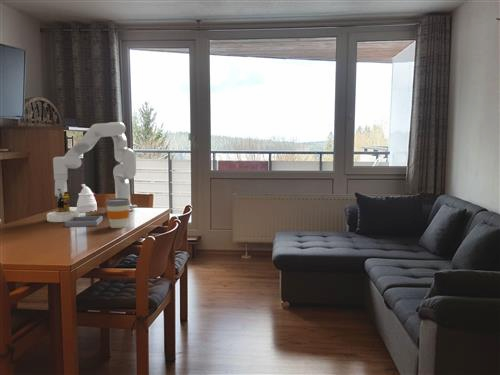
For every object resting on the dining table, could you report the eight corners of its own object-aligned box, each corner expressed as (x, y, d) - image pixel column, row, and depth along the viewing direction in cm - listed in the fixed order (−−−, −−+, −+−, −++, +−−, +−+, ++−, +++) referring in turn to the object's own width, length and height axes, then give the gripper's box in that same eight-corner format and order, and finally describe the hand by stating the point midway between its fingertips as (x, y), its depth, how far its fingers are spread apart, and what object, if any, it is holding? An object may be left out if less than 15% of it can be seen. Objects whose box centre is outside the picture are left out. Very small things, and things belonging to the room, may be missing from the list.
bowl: (81, 216, 264) (81, 210, 263) (74, 221, 247) (74, 214, 247) (52, 217, 261) (52, 211, 261) (43, 222, 244) (43, 215, 244)
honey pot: (72, 211, 282) (71, 185, 280) (85, 208, 295) (84, 183, 293) (88, 212, 279) (87, 185, 277) (101, 209, 291) (99, 183, 289)
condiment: (68, 212, 251) (67, 192, 249) (53, 212, 250) (52, 192, 248) (71, 210, 258) (70, 191, 257) (57, 210, 257) (56, 191, 255)
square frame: (102, 220, 251) (102, 216, 250) (97, 225, 234) (96, 221, 234) (73, 221, 248) (72, 217, 248) (65, 226, 231) (64, 222, 231)
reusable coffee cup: (106, 229, 224) (104, 201, 222) (107, 224, 236) (106, 198, 234) (130, 227, 227) (129, 200, 225) (130, 223, 239) (129, 197, 237)
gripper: (58, 176, 259) (60, 204, 261) (49, 178, 242) (51, 209, 244) (71, 176, 260) (72, 204, 262) (63, 178, 243) (65, 208, 245)
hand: (62, 206), depth 253 cm, fingers closed on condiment, 6 cm apart
